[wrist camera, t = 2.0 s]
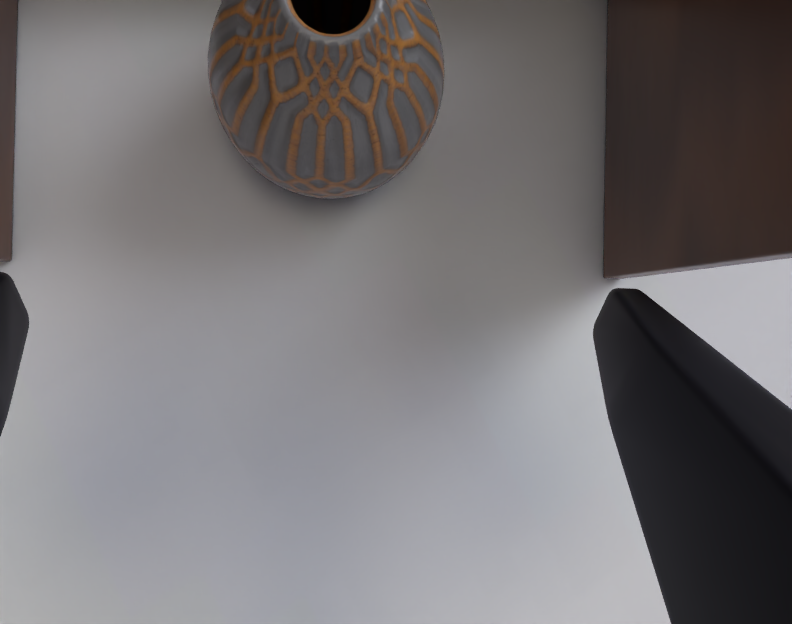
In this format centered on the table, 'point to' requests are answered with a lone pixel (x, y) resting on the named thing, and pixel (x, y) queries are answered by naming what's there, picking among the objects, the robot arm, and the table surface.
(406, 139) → the vase
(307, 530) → the table surface
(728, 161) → the wooden bookend shelf
